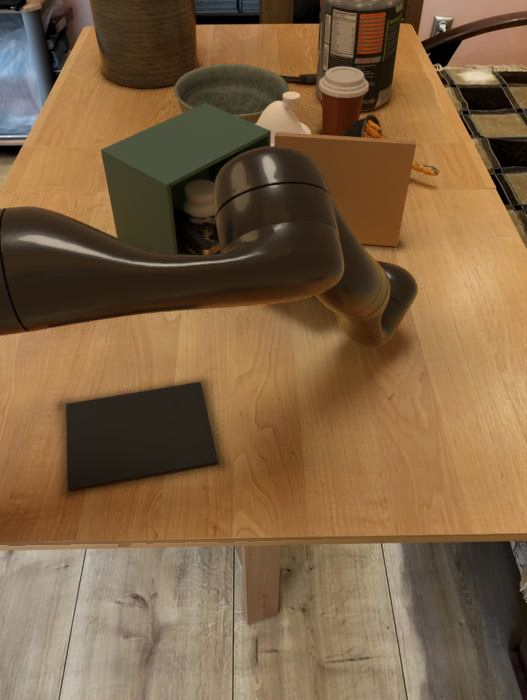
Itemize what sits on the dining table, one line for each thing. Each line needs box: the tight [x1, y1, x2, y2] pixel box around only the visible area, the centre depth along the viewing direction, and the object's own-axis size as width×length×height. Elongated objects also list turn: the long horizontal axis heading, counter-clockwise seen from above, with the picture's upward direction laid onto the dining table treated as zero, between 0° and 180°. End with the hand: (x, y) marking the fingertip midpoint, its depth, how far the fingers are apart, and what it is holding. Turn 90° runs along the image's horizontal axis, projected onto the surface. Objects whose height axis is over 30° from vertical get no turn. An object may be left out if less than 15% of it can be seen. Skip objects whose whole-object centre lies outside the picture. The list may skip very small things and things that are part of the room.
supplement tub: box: [315, 0, 404, 112], centre depth 127 cm, size 16×16×26 cm
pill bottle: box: [182, 180, 219, 255], centre depth 94 cm, size 6×6×10 cm
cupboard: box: [100, 103, 271, 255], centre depth 93 cm, size 13×19×17 cm
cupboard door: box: [274, 132, 417, 248], centre depth 95 cm, size 6×19×17 cm, turn 83°
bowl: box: [173, 63, 290, 124], centre depth 120 cm, size 21×21×10 cm
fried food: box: [342, 113, 440, 177], centre depth 112 cm, size 9×11×18 cm
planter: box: [88, 0, 199, 89], centre depth 139 cm, size 22×22×20 cm
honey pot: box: [255, 91, 312, 146], centre depth 102 cm, size 13×13×18 cm
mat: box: [65, 381, 219, 493], centre depth 73 cm, size 16×12×1 cm
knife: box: [278, 73, 317, 85], centre depth 142 cm, size 28×2×5 cm
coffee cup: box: [319, 66, 369, 136], centre depth 119 cm, size 9×9×12 cm
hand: (190, 205), depth 94 cm, fingers closed on pill bottle, 5 cm apart
